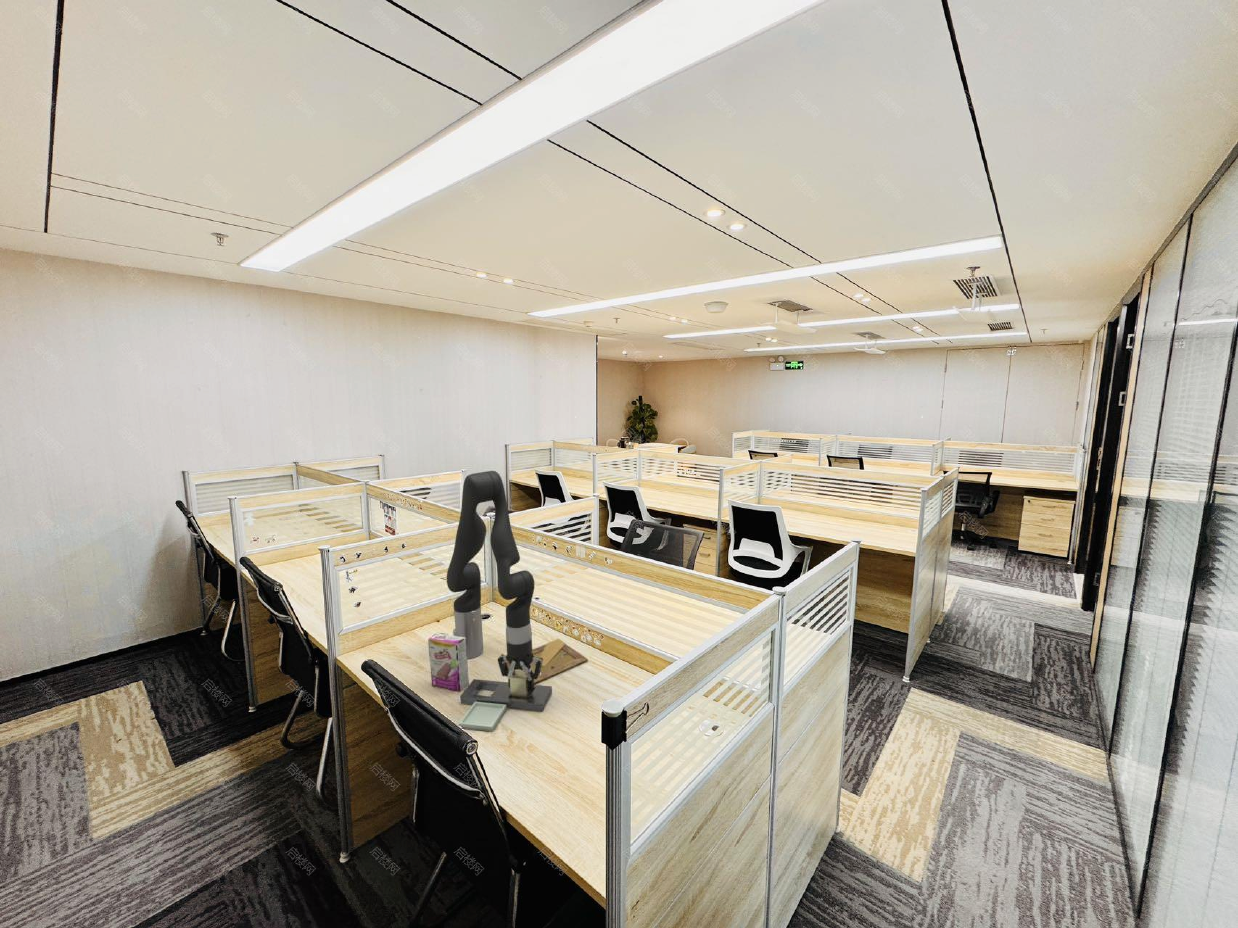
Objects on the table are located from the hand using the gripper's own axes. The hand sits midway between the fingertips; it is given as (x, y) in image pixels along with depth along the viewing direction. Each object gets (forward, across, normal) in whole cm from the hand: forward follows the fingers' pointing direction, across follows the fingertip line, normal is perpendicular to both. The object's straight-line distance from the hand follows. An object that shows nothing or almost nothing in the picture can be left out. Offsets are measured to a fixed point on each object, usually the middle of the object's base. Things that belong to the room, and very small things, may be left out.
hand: (521, 688), depth 154 cm
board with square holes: (+4, -5, 0) cm, 6 cm away
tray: (+4, -8, -10) cm, 13 cm away
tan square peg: (+3, 0, 0) cm, 3 cm away
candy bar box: (+4, -26, +4) cm, 26 cm away
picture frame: (+5, 0, +21) cm, 22 cm away
